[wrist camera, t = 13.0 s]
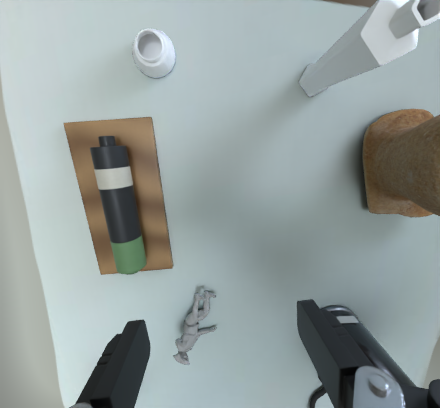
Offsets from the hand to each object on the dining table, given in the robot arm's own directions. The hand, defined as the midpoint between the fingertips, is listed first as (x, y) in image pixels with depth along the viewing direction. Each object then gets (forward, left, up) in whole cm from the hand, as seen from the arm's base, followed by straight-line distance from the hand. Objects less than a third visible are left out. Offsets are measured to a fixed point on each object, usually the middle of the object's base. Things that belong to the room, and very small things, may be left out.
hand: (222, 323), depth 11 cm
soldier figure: (-19, +5, -21) cm, 29 cm away
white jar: (+20, +6, -21) cm, 30 cm away
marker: (+2, +13, -20) cm, 24 cm away
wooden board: (+2, +13, -21) cm, 25 cm away
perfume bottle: (+16, -14, -21) cm, 30 cm away
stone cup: (+4, -25, -21) cm, 33 cm away
